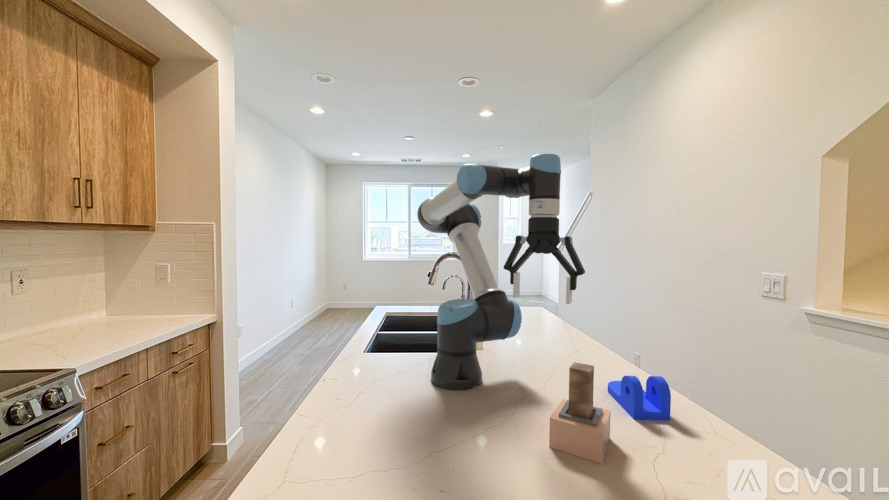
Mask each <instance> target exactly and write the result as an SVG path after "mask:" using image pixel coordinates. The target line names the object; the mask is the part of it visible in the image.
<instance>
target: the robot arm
mask: <svg viewBox="0 0 889 500" xmlns="http://www.w3.org/2000/svg"><path fill="white" fill-rule="evenodd" d="M561 166H562V164H561V158H560V156H559V155H557V154H556V153H539V154H538V153H537V154H535V155H532V156H531V157H530V158H529V166H527V167H524V168H523V167H522V168H512V167H503V166H493V165H487V164H485V165H484V164H479V163H466V164H465V163H464V164H463V165H461V166H460V167H459V171H458V172H457V174H456V180H455V181H454V182H452V183H451V184H450V185H449V186H447V187H446V188H444V189H443V190H442V191H440V192H439V193H438V194H436V195H435V196H433V197H429V198H426V199H425V200H423V201H422V203H421V204H420V205H419V207H418V208H417V212H416V214H417V215H416V216H417V220H418V222H419V224H420V225H421V226H422V228H423V229H424V230H426V231H427V232H431V233H435V234H446V235H447V236H448V240H449V241H450V242H451V243H454V244H455V246H456V247H455V248H456V251H457V252H458V256H459V258H460V262H461V264H462V267H463V271H464V273H465V276H466V279H467V282H468V285H469V287H470V290H471V293H472V296H473V298H456V299H450V300H447V301H445V302H442V303H441V304H440V305H439V306H438V308H437V318H436V322H437V323H436V325H437V328H436V330H437V331H436V332H437V334H436V335H437V336H436V337H437V338H436V339H437V340H436V341H437V342H436V343H437V347H436V349H437V351H436V356H435V359H434V362H433V365H432V369H431V373H430V374H431V375H430V377H431V378H430V380H431V382H432V383H433V384H434V386H435V385H436V386H437V387H439V388H443V389H447V390H453V391H454V390H455V391H456V390H457V391H459V390H461V391H462V390H468V389H472V388H475V387H478V386H479V385H481V383H482V381H483V372H482V368H481V365H480V361H479V358H478V355H477V343H483V342H491V341H499V340H503V341H504V340H506V339H509V338H514V337H515V336H516V335H517V334H518V333H519V331H520V330H521V326H522V318H523V317H522V315H523V314H522V310H521V308H520V306H519V303H518V302H517V301H515V300H513V299H516V298H519V297H520V294H521V292H520V291H521V289H520V288H521V272H519V271H518V270H519V269H520V268H521V267H523V266H524V265H525V262H527V260H528V259H529V258H530V257H531V256H532V255H533V254H534V253H535V254H545V255H549V254H551V255H552V256H554V257H555V259H556V260H557V261H558V262H559V264H560V265H561V266H562V267H563V269H564V270H565V271H566V272H567V274H568V275H569V276H566V283H565V284H566V285H565V286H566V287H565V305H570V304H572V302H573V301H572V299H573V298H572V297H573V291H576V290H577V282H578V281H577V280H578V279H577V278H578V276H582V275H584V274H585V273H586V271H585V270H586V269H585V268H584V266H583V263H582V261H581V260H580V258H579V256H578V253H577V251H576V250H575V247H574V245H573V237H572V236H568V235H567V236H565V237H560V235H559V234H560V233H559V232H560V219H559V217H557V216H559V215H560V207H561V205H560V201H561V200H560V198H561V174H562V169H561ZM487 195H488V196H499V197H501V196H504V197H506V198H510V199H511V198H514V199H518V198H523V197H527V196H528V215H529V218H528V220H527V221H528V225H527V227H528V228H527V232H528V234H527V236H523V235H521V234H519V235H516V237H515V243H514V245H513V247H512V249H511V252H510V253H509V256H508V257H507V260H506V261H505V263H504V265H503V269H504V270H506V271H508V272H510V273H509V274H510V277H509V278H510V279H509V280H510V281H509V282H510V285H513V287H512V298H513V299H508V297H507V296H508V295H507V294H506V292H505V291H504V290H502V289H500V288H499V286H498V283H497V280H496V278H495V276H494V274H493V272H492V269H491V266H490V264H489V261H488V259H487V256H486V253H485V251H484V248H483V246H482V242H481V240H480V238H479V235H478V234H479V232H480V229H481V227H482V220H481V219H482V214H481V212H480V209H479V208H478V207H477V206H476V205H475V204H473V203H472V202H474V201H476V200H477V199H479V198H481V197H482V196H487ZM525 243H527V244H528V247H527V248H526V249H525V251H524V253H523V254H522V255H521V256H520V257H519V258H518V260H516V259H517V256H518V255H519V253H520V251H521V249H522V247H523V245H525ZM560 243H562V246H564V247H565V250H566V251H567V254H568V256H569V259H571V261H572V263H573V266H574V267H573V266H572V264H571V263H570V262H569V260H568V259H566V257H565V256H564V255H563V254H562V252H561V250H560V249H559V247H558V246H559V245H560ZM515 260H516V261H515ZM514 262H515V263H514ZM574 268H575V269H574Z"/></svg>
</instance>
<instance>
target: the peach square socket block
mask: <svg viewBox="0 0 889 500" xmlns="http://www.w3.org/2000/svg"><path fill="white" fill-rule="evenodd" d="M568 412H569V399H568V400H567V399H564V398H562V399H561V400H560V402H559V404H558V405H557V406H556V407H555V409H554V411H553V413H552V414H551V415H550V417H549V439H548V440H549V441H548V445H549V448H552V449H556V450H558V451H562V452H565V453H568V454H570V455H574V456H576V457H580V458H583V459H587V460H590V461H592V462H595V463H598V464H601V465H603V463H604V460H605V457H606V453H607V450H608V446H609V443H610V439H611V417H612V416H611V415H612V414H611V410H609V409H606V408H605V409H604V408H602V407H597V406H593V419H592V420H588V419H585V418H581V417H577V416H573V415H570V414H568Z"/></svg>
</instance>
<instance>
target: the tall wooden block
mask: <svg viewBox="0 0 889 500" xmlns="http://www.w3.org/2000/svg"><path fill="white" fill-rule="evenodd" d="M568 371H569V373H568V375H569V376H568V377H569V379H568V380H569V381H568V386H569V387H568V401H569V412H568V414H570V415H573V416H577V417H581V418H585V419H588V420H592V419H593V407H594V380H595V379H594V376H595V375H594V374H595V365H591V364H586V363H582V362H581V363H580V362H574V361H573V363H572V364H571V365H570V366H569V370H568Z"/></svg>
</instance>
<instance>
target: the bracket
mask: <svg viewBox="0 0 889 500" xmlns="http://www.w3.org/2000/svg"><path fill="white" fill-rule="evenodd" d="M607 393H608V394H609V395H610V396H611V397H612V398H613V400H614V401H616V403H617V404H619V406H620V407H621V408H622V409H623V410H624V411H625V412H626V413H627V414H628V415H629V416H630V417H631V419H633V420H636V421H637V420H638V421H639V420H642V421H671V402H672V401H671V400H672V397H671V396H672V395H671V389H670V386H669V384H668V382H667V380H666V379H665V378H664V377H662V376H661V375H659V376H657V375H651V376H648V377H647V379H646V383H645V390H644V389H643V385H642V382H641V380H640V379H639V378H638V377H637V376H635V375H623V377H622V378H621V380H613V381H609V382H608V383H607Z"/></svg>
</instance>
